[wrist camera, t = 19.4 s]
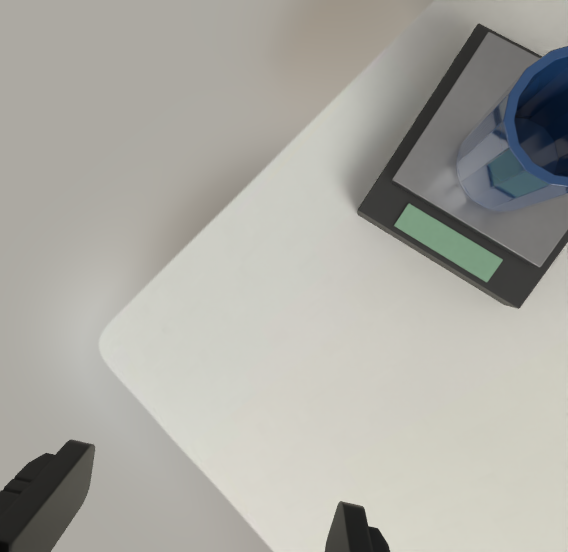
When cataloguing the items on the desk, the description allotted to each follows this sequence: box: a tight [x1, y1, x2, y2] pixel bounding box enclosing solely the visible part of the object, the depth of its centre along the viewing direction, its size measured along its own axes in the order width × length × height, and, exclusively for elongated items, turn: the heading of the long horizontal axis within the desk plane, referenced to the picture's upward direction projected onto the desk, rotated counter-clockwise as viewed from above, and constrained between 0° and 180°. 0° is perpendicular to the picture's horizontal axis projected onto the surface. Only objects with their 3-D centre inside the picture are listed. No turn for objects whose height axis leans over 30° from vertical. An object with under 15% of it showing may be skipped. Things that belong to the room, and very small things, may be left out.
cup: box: [456, 46, 568, 212], centre depth 23 cm, size 7×7×9 cm
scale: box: [358, 24, 568, 309], centre depth 30 cm, size 14×16×3 cm
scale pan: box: [391, 32, 568, 267], centre depth 28 cm, size 12×12×1 cm
